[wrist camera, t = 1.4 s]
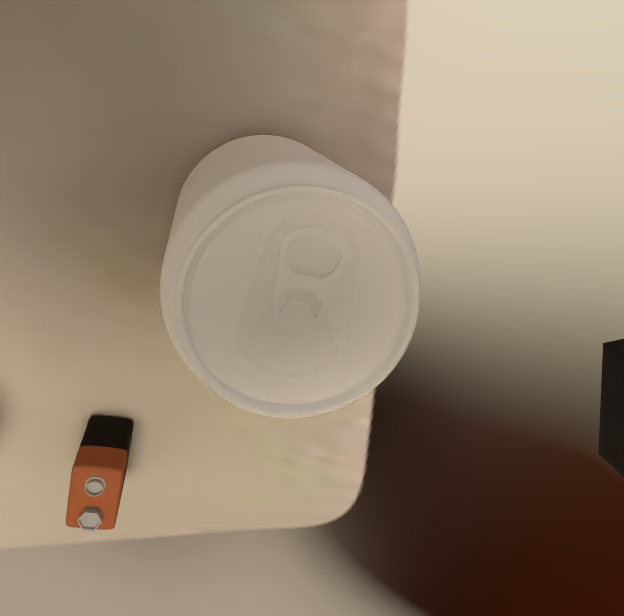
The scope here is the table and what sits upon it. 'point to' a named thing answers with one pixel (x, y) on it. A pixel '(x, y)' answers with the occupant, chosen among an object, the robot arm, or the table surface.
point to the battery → (99, 474)
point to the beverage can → (287, 279)
